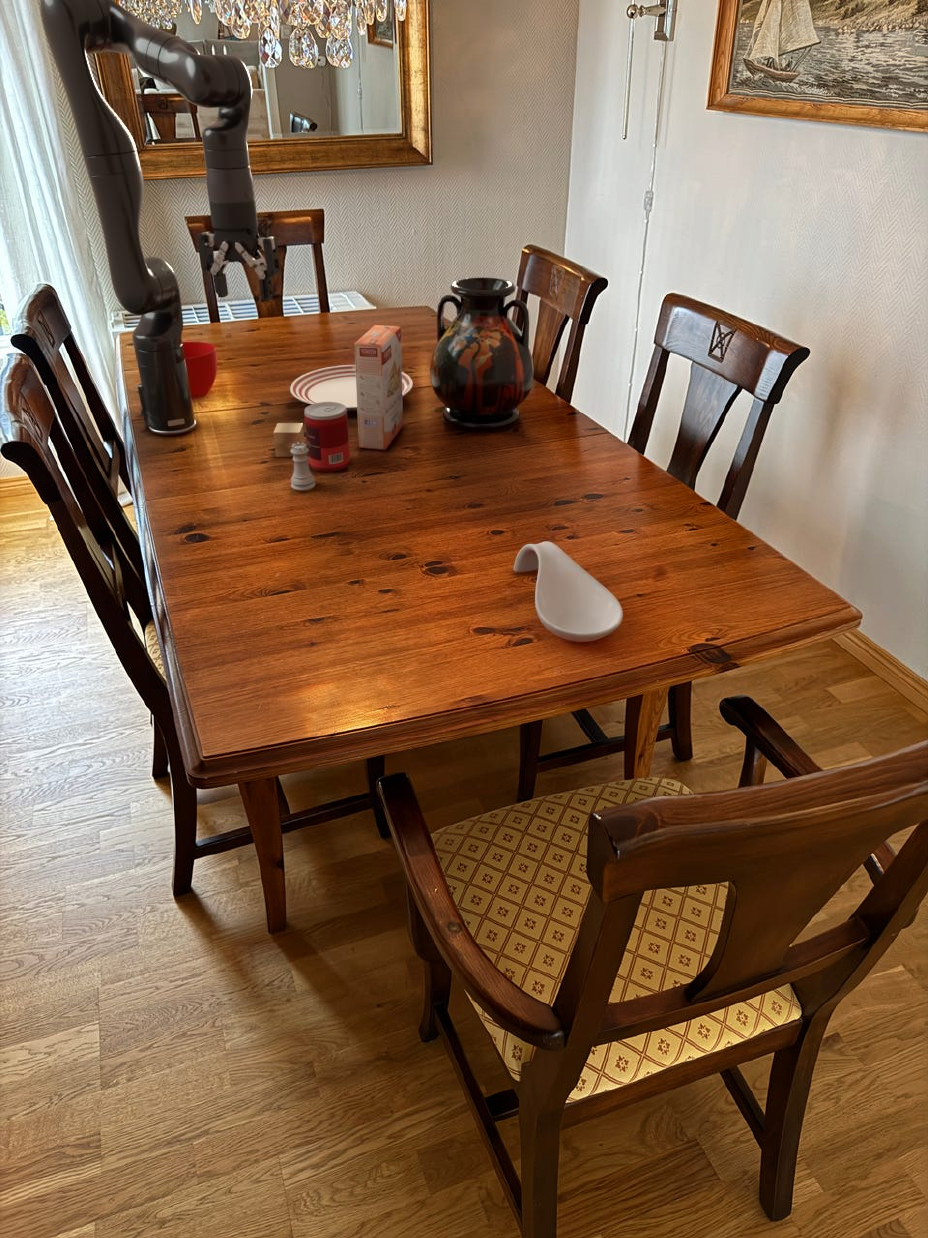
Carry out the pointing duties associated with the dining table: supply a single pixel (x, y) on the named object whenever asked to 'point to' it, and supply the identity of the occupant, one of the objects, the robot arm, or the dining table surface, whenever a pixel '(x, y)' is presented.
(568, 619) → the spoon rest
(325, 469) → the canned food
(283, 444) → the maple block
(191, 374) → the ceramic cup
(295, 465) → the rook chess piece
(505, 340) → the amphora vase
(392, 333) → the cracker box
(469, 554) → the dining table surface
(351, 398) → the dinner plate
